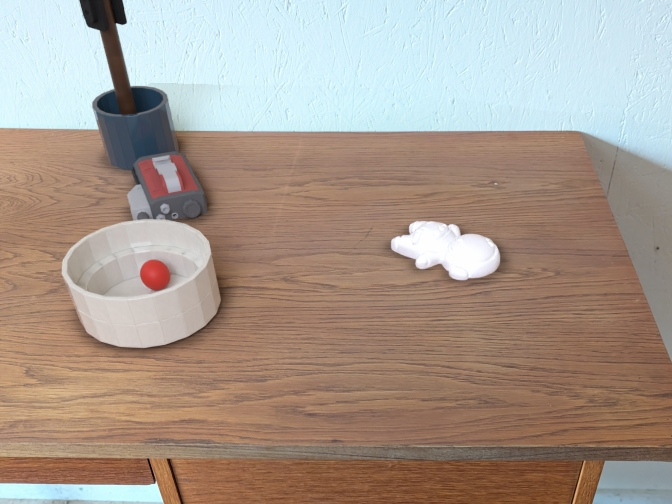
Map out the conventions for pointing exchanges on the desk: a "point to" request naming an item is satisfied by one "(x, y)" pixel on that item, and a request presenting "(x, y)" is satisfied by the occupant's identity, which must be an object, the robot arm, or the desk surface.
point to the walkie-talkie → (165, 188)
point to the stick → (117, 64)
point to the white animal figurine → (448, 249)
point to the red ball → (155, 274)
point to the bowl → (130, 292)
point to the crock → (135, 126)
